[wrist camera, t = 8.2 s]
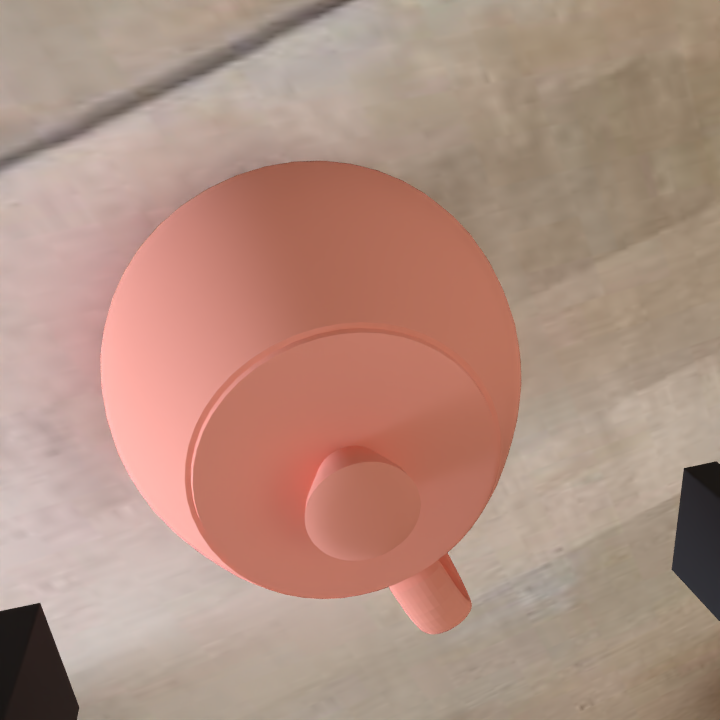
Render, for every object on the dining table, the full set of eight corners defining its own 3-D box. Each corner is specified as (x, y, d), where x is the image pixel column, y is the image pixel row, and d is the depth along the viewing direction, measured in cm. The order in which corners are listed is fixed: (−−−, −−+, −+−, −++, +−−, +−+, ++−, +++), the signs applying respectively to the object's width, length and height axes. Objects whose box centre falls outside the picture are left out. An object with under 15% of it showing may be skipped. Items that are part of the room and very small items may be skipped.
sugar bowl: (385, 75, 20) (529, 90, 11) (536, 422, 27) (707, 613, 18) (31, 272, 21) (-110, 443, 12) (261, 570, 27) (289, 835, 18)
